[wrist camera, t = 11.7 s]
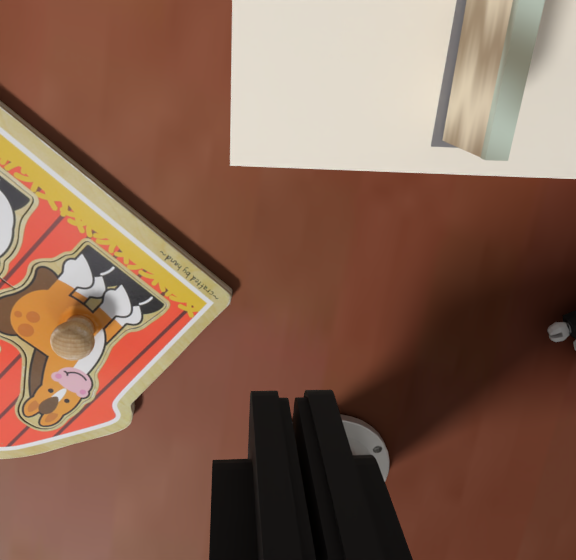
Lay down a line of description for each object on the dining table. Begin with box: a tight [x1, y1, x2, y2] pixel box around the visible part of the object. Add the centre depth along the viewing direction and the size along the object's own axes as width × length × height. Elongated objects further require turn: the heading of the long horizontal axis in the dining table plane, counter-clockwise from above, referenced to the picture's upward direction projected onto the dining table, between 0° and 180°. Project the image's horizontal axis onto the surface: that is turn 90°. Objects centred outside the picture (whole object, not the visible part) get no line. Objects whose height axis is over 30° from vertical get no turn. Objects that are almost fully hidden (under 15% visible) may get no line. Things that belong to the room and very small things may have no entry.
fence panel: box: [442, 0, 545, 161], centre depth 29 cm, size 12×1×7 cm, turn 177°
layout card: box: [230, 0, 576, 179], centre depth 32 cm, size 20×30×1 cm, turn 86°
